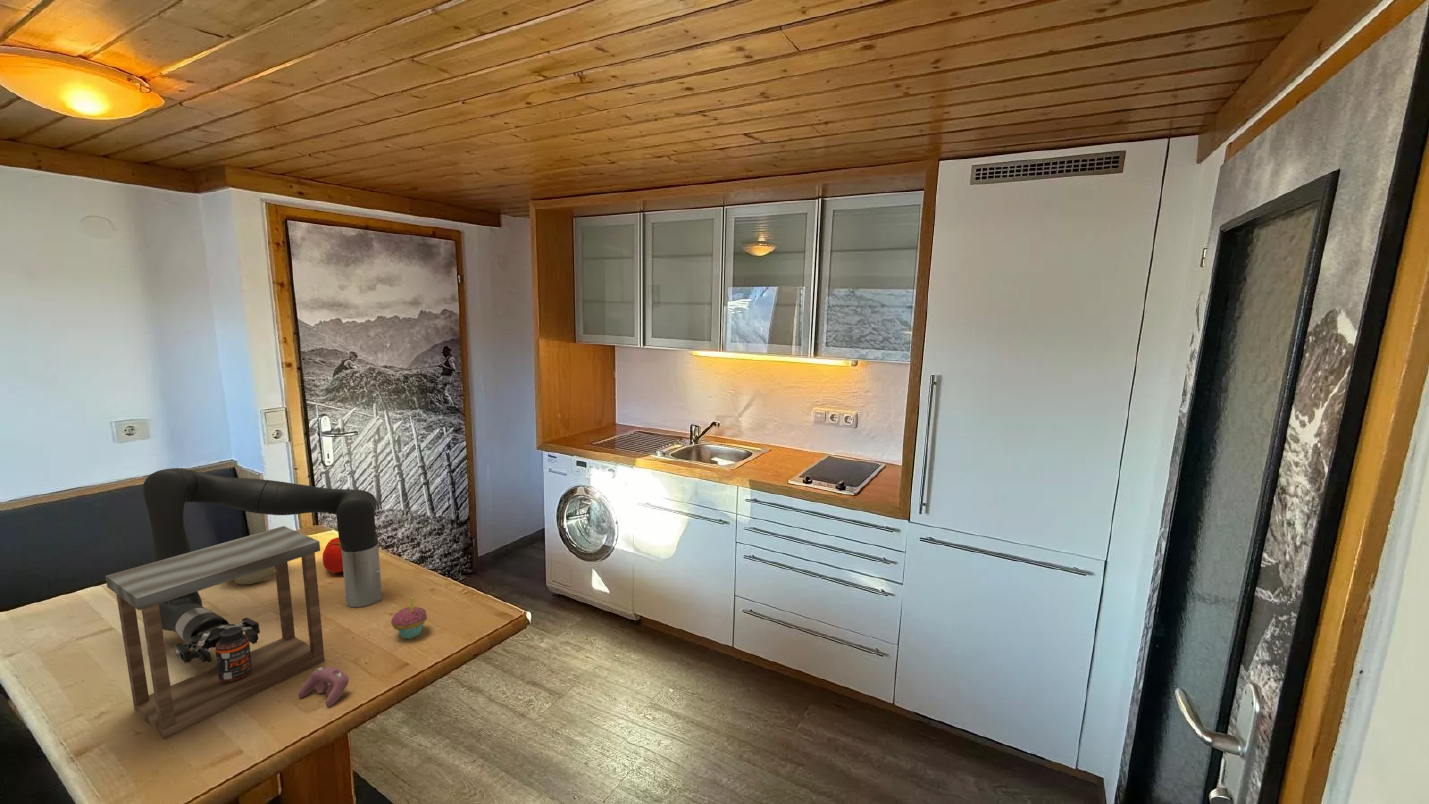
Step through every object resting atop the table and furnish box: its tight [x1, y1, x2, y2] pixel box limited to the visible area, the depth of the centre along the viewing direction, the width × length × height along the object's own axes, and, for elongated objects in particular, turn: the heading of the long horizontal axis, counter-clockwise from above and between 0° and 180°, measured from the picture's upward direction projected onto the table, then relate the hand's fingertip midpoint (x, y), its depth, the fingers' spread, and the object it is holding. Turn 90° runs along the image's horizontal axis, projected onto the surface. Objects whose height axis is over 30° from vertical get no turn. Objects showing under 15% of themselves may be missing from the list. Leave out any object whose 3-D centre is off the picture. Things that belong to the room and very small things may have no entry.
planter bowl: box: [234, 566, 275, 585], centre depth 179 cm, size 16×16×11 cm
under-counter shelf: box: [105, 525, 326, 740], centre depth 128 cm, size 17×32×32 cm, turn 151°
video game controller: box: [298, 666, 350, 708], centre depth 128 cm, size 10×5×7 cm, turn 72°
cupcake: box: [390, 594, 428, 639], centre depth 152 cm, size 9×8×12 cm
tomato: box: [322, 536, 343, 574], centre depth 187 cm, size 14×13×10 cm
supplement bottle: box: [214, 627, 252, 683], centre depth 130 cm, size 6×6×11 cm
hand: (233, 648), depth 129 cm, fingers open, 8 cm apart
